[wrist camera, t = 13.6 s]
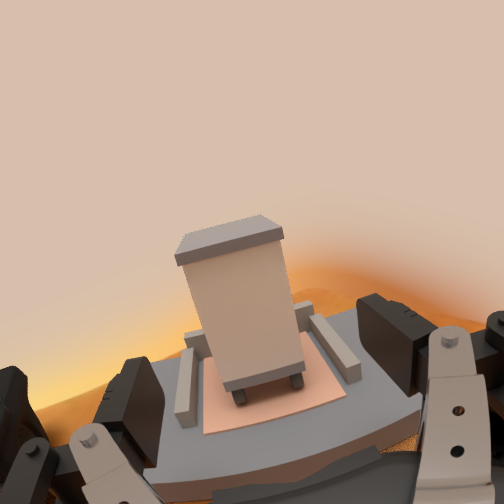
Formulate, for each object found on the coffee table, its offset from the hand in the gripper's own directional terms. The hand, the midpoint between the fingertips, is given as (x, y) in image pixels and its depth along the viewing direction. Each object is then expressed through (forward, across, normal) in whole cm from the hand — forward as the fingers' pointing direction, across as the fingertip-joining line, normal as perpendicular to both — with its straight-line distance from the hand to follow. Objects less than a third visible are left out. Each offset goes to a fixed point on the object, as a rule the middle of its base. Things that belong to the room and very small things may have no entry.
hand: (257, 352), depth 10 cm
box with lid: (+8, 0, +8) cm, 11 cm away
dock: (+7, 0, +10) cm, 12 cm away
